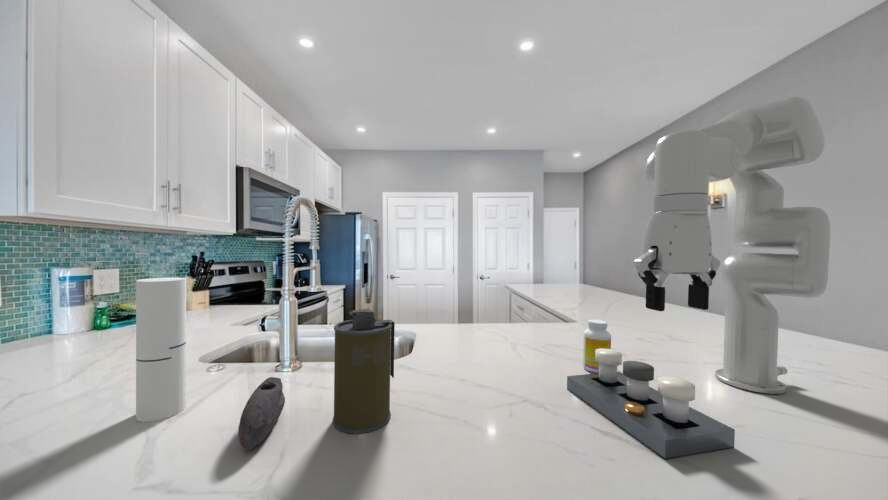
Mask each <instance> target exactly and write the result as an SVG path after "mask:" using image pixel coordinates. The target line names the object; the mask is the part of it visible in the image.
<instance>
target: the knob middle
mask: <svg viewBox="0 0 888 500" xmlns="http://www.w3.org/2000/svg"><path fill="white" fill-rule="evenodd" d="M622 373H623V374H624V375H625V376H626V377H627V395H628V396H629V397H631V398H633V399H637V400H648V390H649V387H650V386H649V384H650V382H652V381H653V380H655V367H654V366H653V365H652V364H649V363H647V362H643V361H637V360H625V361H622Z"/></svg>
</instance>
